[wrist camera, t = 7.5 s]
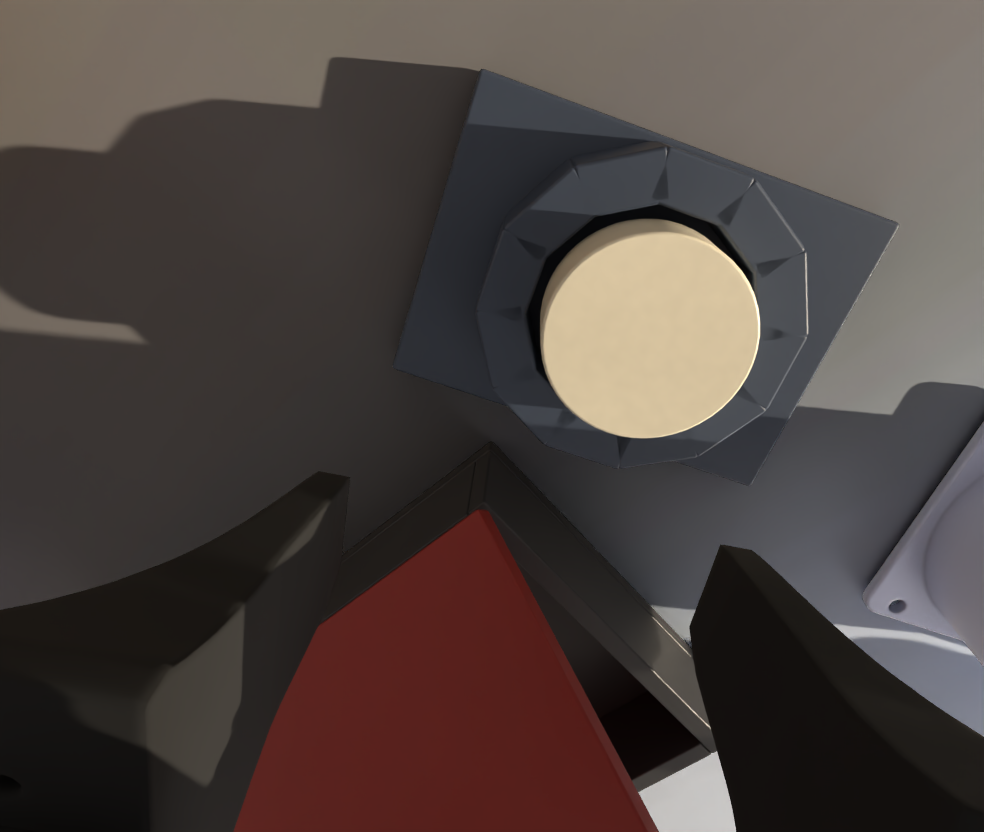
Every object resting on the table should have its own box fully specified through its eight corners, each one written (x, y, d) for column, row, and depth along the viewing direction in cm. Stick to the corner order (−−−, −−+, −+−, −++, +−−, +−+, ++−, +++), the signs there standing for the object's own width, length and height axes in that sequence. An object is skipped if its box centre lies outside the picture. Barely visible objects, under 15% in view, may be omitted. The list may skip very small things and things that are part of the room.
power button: (776, 258, 17) (802, 276, 15) (687, 433, 19) (701, 465, 17) (582, 188, 16) (588, 198, 15) (513, 375, 18) (511, 402, 17)
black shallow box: (703, 660, 25) (728, 746, 22) (396, 834, 30) (379, 927, 26) (491, 439, 22) (483, 501, 19) (186, 674, 27) (137, 756, 23)
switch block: (884, 217, 19) (944, 239, 16) (742, 471, 22) (771, 525, 19) (482, 68, 18) (473, 64, 15) (397, 357, 21) (376, 397, 18)
